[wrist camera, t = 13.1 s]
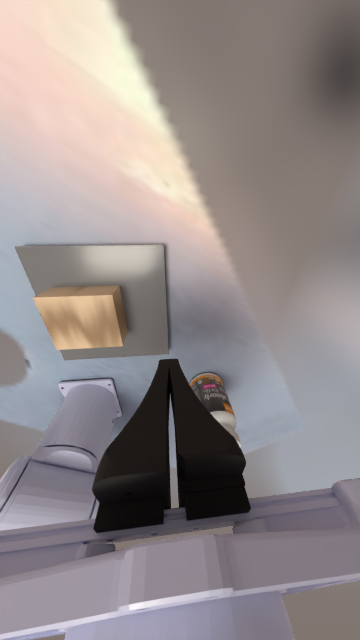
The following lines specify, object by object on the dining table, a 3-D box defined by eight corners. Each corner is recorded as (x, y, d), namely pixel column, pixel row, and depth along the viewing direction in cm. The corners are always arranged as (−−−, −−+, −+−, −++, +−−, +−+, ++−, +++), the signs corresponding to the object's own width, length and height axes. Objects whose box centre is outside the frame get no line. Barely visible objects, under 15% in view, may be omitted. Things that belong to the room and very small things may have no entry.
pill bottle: (225, 373, 28) (254, 437, 19) (214, 395, 31) (234, 461, 22) (193, 369, 27) (208, 435, 18) (184, 392, 29) (193, 461, 21)
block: (122, 346, 18) (56, 349, 18) (127, 331, 21) (70, 334, 21) (112, 294, 16) (32, 297, 15) (119, 285, 18) (52, 287, 18)
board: (168, 348, 24) (168, 353, 23) (69, 354, 23) (64, 360, 22) (163, 244, 18) (163, 245, 17) (23, 245, 17) (14, 246, 16)
